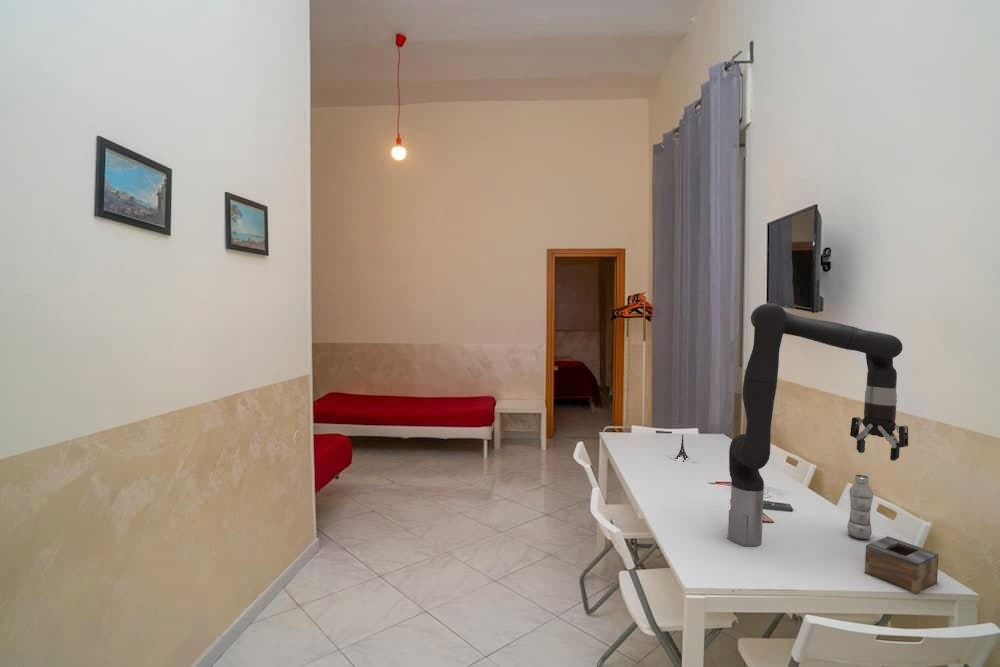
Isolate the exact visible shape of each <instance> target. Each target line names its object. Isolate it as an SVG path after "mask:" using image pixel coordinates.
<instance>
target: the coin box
mask: <svg viewBox="0 0 1000 667" xmlns="http://www.w3.org/2000/svg"><path fill="white" fill-rule="evenodd" d="M939 554H940V553H938V552H936V551H932V550H929V549H926V548H923V547H921V546H917V545H915V544H912V543H908V542H905V541H903V540H901V539H897V538H894V537H891V536H885V537H882V538H879V539H878V540H875V541H872V542H869V543H868V544H866V545H865V556H864V558H865V559H864V560H865V561H864V574H866V575H868V576H871V577H873V578H875V579H878V580H880V581H883V582H885V583H888V584H890V585H893V586H895V587H898V588H900V589H903V590H905V591H907V592H910V593H912V594H915V595H917V594H919V593H921V592H923V591H925V590H926V589H929V587H931V586H933V585H935V584H937V583H938V574H939V573H938V572H939ZM922 590H923V591H922ZM920 591H921V592H920Z"/></svg>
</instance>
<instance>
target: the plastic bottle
mask: <svg viewBox="0 0 1000 667" xmlns="http://www.w3.org/2000/svg"><path fill="white" fill-rule="evenodd" d="M869 479H870V477H869V476H868V475H863V474H855V475H854V482H855V483H853V485H852V486H851V487H850V488H849V501H850V510H849V511H850V512H849V519H848V523H847V532H848V534H849V535H850V536H851V537H853V538H856V539H860V540H869V539H870V538H871V536H872V533H873V532H872V525H871V511H872V503H873V500H874V491H873V490H872V488H871V487H870V485H869V484H870V481H869Z"/></svg>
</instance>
